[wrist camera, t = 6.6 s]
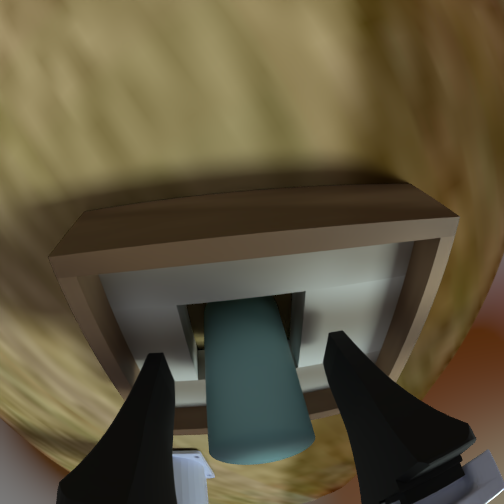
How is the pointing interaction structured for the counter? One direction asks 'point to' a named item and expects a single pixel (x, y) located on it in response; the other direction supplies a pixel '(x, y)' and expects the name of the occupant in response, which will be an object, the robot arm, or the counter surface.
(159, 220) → the box
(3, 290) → the counter surface
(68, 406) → the counter surface
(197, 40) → the counter surface
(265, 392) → the peg
